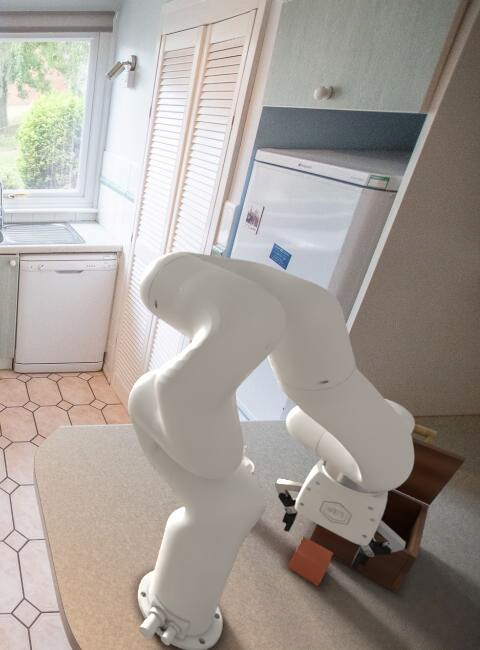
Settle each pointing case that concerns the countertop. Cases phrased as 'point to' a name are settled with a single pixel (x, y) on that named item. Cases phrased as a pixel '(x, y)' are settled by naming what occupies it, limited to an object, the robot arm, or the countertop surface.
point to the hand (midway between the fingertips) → (320, 544)
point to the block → (310, 560)
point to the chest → (403, 520)
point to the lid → (429, 468)
